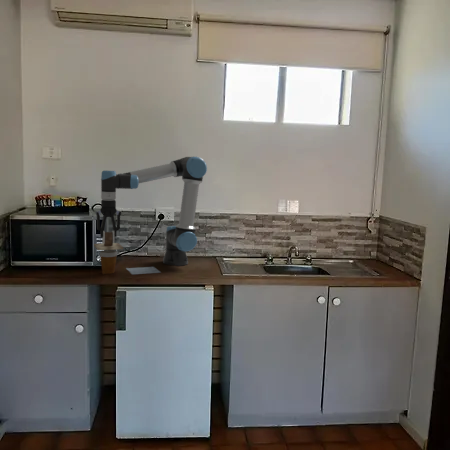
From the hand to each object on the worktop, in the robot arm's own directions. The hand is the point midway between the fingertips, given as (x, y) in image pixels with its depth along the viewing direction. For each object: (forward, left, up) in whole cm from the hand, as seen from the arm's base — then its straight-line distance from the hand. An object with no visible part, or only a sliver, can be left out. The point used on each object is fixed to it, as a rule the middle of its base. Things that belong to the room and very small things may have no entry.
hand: (108, 242), depth 253 cm
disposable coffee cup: (0, 0, -17) cm, 17 cm away
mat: (-19, +1, -17) cm, 25 cm away
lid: (0, 0, -3) cm, 3 cm away
